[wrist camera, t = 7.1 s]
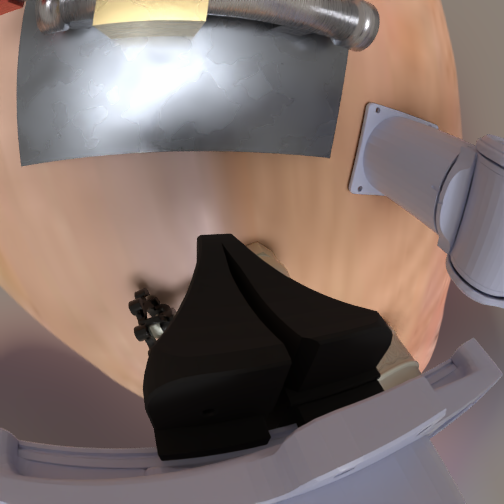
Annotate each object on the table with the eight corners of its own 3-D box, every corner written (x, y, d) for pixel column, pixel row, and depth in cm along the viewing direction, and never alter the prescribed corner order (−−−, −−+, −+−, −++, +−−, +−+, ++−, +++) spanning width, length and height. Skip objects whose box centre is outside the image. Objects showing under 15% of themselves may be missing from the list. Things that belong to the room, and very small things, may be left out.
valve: (264, 219, 23) (129, 276, 23) (298, 268, 18) (127, 338, 17) (282, 276, 27) (165, 324, 27) (311, 327, 22) (172, 382, 21)
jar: (296, 362, 37) (352, 476, 23) (375, 303, 35) (454, 410, 21) (333, 381, 45) (379, 466, 31) (395, 334, 42) (453, 415, 28)
